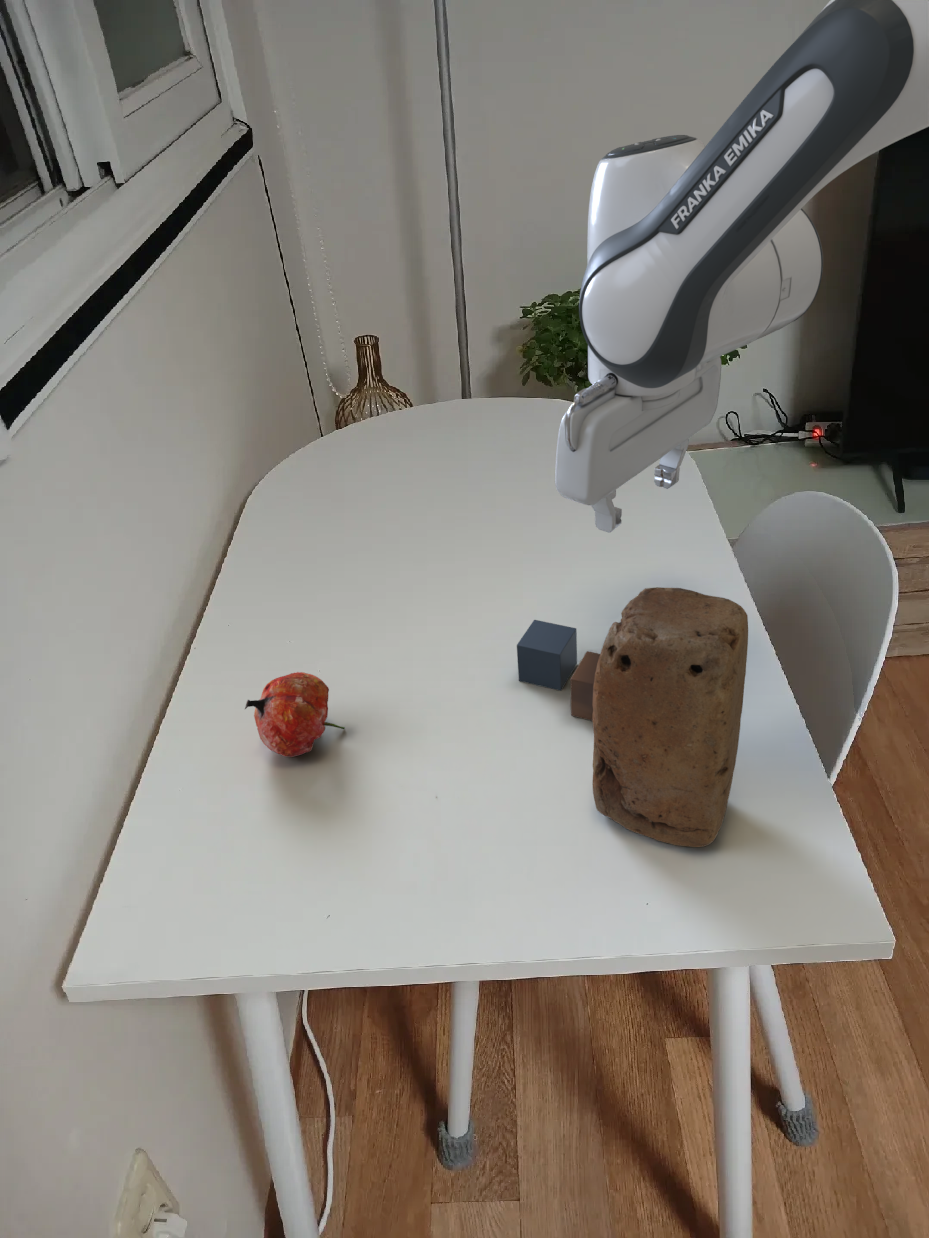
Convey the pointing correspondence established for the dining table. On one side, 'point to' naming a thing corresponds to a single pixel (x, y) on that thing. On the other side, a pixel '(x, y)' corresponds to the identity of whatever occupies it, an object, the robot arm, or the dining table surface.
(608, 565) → the dining table surface
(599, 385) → the robot arm
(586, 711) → the walnut cube
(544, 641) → the slate cube
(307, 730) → the pomegranate
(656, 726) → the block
